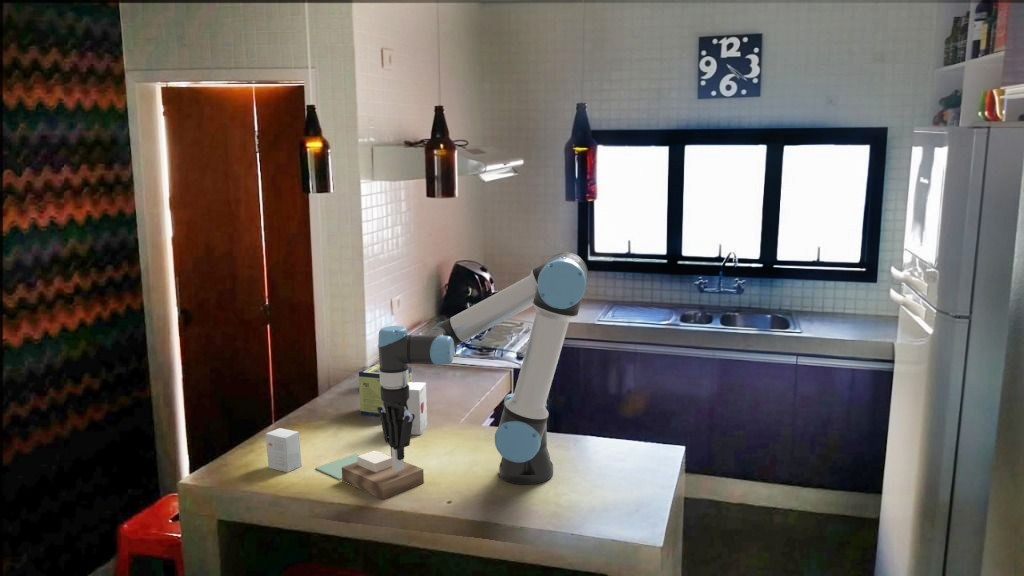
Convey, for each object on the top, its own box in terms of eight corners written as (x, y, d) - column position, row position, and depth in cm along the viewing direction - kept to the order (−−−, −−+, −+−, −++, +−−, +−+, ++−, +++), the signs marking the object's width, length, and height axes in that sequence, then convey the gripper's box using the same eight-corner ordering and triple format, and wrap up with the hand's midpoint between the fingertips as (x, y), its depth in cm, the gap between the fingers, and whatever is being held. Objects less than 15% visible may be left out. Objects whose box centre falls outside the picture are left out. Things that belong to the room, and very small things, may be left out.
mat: (380, 465, 237) (380, 463, 237) (340, 480, 227) (340, 478, 227) (355, 455, 245) (355, 453, 245) (315, 469, 235) (315, 467, 235)
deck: (423, 482, 224) (423, 469, 224) (383, 499, 214) (382, 485, 214) (382, 466, 237) (382, 452, 236) (342, 481, 226) (341, 467, 226)
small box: (302, 466, 237) (299, 431, 236) (287, 473, 233) (285, 437, 231) (282, 461, 241) (279, 427, 240) (267, 468, 237) (265, 433, 235)
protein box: (401, 419, 276) (399, 374, 274) (359, 415, 281) (357, 371, 278) (414, 409, 286) (412, 366, 283) (373, 406, 291) (371, 363, 288)
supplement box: (420, 435, 261) (419, 390, 258) (393, 434, 262) (391, 389, 260) (428, 425, 270) (426, 381, 267) (401, 424, 271) (400, 381, 268)
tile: (393, 465, 226) (392, 457, 226) (375, 472, 222) (375, 463, 221) (375, 458, 232) (374, 450, 231) (357, 464, 227) (357, 456, 227)
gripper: (421, 386, 214) (424, 472, 218) (390, 377, 223) (393, 459, 227) (399, 393, 209) (402, 480, 213) (367, 383, 217) (371, 467, 221)
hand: (398, 469), depth 220 cm, fingers closed
